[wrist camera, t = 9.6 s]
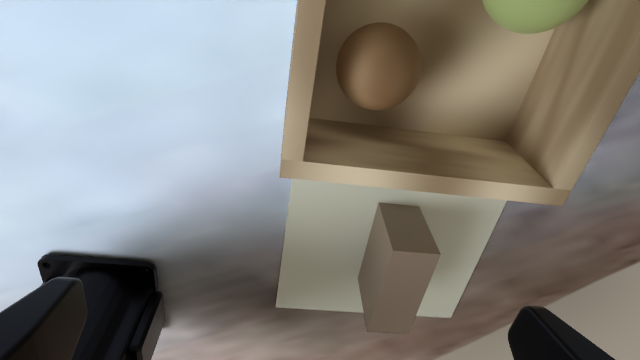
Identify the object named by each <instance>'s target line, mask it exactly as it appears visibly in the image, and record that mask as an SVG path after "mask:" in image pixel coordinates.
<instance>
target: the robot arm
mask: <svg viewBox="0 0 640 360" xmlns="http://www.w3.org/2000/svg"><path fill="white" fill-rule="evenodd" d="M38 267H39V271H40V274H41V277H42V280H43V284H42V285H41V286H40V287H39V288H37V289H36V290H34V291H33V292H31V293H29V294H28V295H26V296H25V297H23V298H22V299H20V300H19V301H17V302H16V303H14V304H13V305H11V306H9V307H8V308H6V309H5V310H3V311H2V312H0V360H151V358H152V355H153V353H154V350H155V347H156V344H157V341H158V338H159V336H160V333H161V330H162V327H163V324H164V321H165V314H164V302H163V294H162V293H161V292H160V291H158V283H157V272H156V266H155V265H154V264H153V263H151V262H147V261H133V260H119V259H106V258H92V257H79V256H65V255H51V254H46V255H43V256H42V258H41V259H40V260H39V261H38ZM145 269H146V270H145ZM147 270H148V271H147ZM508 341H509V344H510V348H511V351H512V354H513V358H514V360H615V359H614V358H612V357H611V356H610V355H608V354H607V353H606V352H604V351H603V350H602V349H600V348H599V347H597V346H596V345H595V344H593V343H592V342H591V341H589V340H588V339H587V338H585V337H584V336H583V335H581V334H580V333H579V332H577V331H576V330H575V329H573V328H572V327H571V326H569V325H568V324H566V323H565V322H564V321H562V320H561V319H560V318H558V317H557V316H556V315H554V314H553V313H552V312H550V311H549V310H547V309H546V308H544V307H540V306H525V307H523V308H522V309H521V310H520V312H519V313H518V315H517V317H516V318H515V320H514V322H513V324H512V325H511V327H510V329H509V332H508Z"/></svg>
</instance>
